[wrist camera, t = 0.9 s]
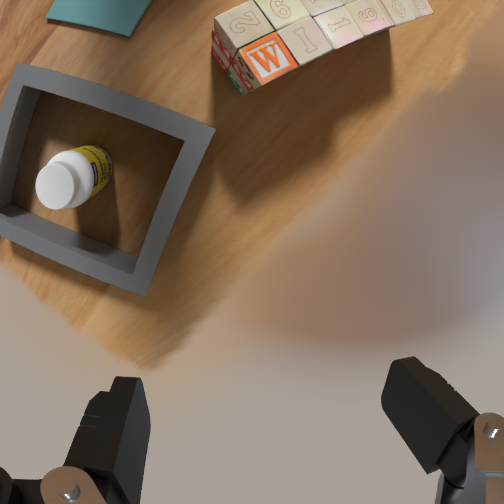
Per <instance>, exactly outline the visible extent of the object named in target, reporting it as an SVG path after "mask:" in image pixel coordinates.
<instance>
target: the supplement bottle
mask: <svg viewBox="0 0 504 504" xmlns="http://www.w3.org/2000/svg"><path fill="white" fill-rule="evenodd" d="M111 174H112V163H111V159H110V157H109V155H108V154H107V152H106V151H105V150H103V149H102V148H100V147H98V146H95V145H87V146H82V147H78V148H74V149H71V150H67V151H63V152H61V153H58V154H57V155H55V156H54V157H53V158H52V159H51V160H50V161H49V162H48V164H47V165H46V166H45V167H44V168H43V169H42V170H41V171H40V172H39V174H38V176H37V179H36V193H37V196H38V198H39V200H40V202H41V203H42V204H43V205H44V206H46V207H47V208H49V209H53V210H59V209H62V208H65V209H70V208H75V207H77V206H79V205H81V204H82V203H84V202H85V201H86V200H88V199H89V198H91V197H92V196H93V195H95V194H96V193H97V192H99V191H100V190H101V189H103V188H104V187H105V186H106V185H107V183H108V182H109V180H110V178H111Z"/></svg>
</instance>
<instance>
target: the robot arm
mask: <svg viewBox="0 0 504 504" xmlns="http://www.w3.org/2000/svg"><path fill="white" fill-rule="evenodd" d="M381 403H382V408H383V410H384V412H385V414H386V415H387V416H388V418H389V419H390V421H391V422H392V424H393V425H394V427H395V428H396V430H397V431H398V432H399V434H400V435H401V437H402V438H403V439H404V441H405V443H406V444H407V446H408V447H409V448H410V450H411V451H412V453H413V454H414V456H415V457H416V459H417V460H418V462H419V463H420V465H421V466H422V468H423V469H424V470H425V472H426V473H427V474H429V473H432V472H434V471H436V470H438V469H441V471H442V474H441V475H440V477H439V481H438V487H437V493H436V499H435V504H504V418H503V417H502V416H500V415H498V414H495V413H483V414H481V415H480V414H479V413H478V412H477V411H476V410H475V409H474V408H473V407H472V406H471V405H470V404H469V403H468V402H467V401H466V400H465V399H464V398H463V397H462V396H461V395H460V394H459V393H458V392H457V391H454V388H453V387H452V386H451V385H450V384H447V381H446V380H445V379H444V378H442V376H441V375H440V374H439V373H437V372H435V371H433V370H431V369H429V368H427V367H425V366H424V365H423V364H422V363H421V362H420V361H419V360H418V359H417V358H416V357H413V356H412V357H407V358H403V359H398V360H394V361H393V362H392V364H391V366H390V369H389V373H388V376H387V380H386V383H385V386H384V389H383V392H382V396H381ZM150 425H151V424H150V414H149V410H148V405H147V401H146V397H145V392H144V388H143V383H142V380H141V378H136V377H119V376H117V377H115V379H114V381H113V384H112V386H111V389H110V391H109V392H105V391H100V392H99V393H98V394H97V395H95V396H94V397H93V398H92V399H91V400H90V401H89V403H88V406H87V408H86V410H85V413H84V416H83V417H82V420H81V422H80V426H79V427H78V429H77V432H76V434H75V437H74V439H73V442H72V444H71V447H70V449H69V452H68V455H67V457H66V460H65V463H64V465H63V466H62V467H58V468H55V469H53V470H51V471H49V472H48V473H47V474H46V475H45V476H44V478H43V479H40V480H27V479H26V480H24V479H12V478H11V477H10V475H9V474H8V473H7V472H6V471H5V470H4V469H3V468H1V467H0V504H140V498H141V490H142V482H143V475H144V467H145V461H146V454H147V447H148V442H149V436H150Z"/></svg>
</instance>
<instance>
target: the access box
mask: <svg viewBox="0 0 504 504" xmlns="http://www.w3.org/2000/svg"><path fill="white" fill-rule="evenodd" d="M41 90H43V91H46V92H50V93H53V94H56V95H60V96H63V97H66V98H69V99H72V100H76V101H79V102H82V103H85V104H88V105H91V106H94V107H97V108H99V109H102V110H105V111H108V112H111V113H114V114H117V115H119V116H122V117H125V118H128V119H130V120H133V121H136V122H138V123H141V124H144V125H146V126H149V127H151V128H154V129H157V130H159V131H162V132H164V133H167V134H169V135H172V136H174V137H177V138H179V139H182V140H184V141H185V142H184V144H183V147H182V149H181V151H180V153H179V156H178V158H177V160H176V162H175V165H174V167H173V169H172V172H171V174H170V176H169V179H168V181H167V184H166V186H165V188H164V191H163V193H162V196H161V198H160V201H159V203H158V206H157V208H156V211H155V214H154V216H153V219H152V222H151V224H150V227H149V230H148V232H147V235H146V238H145V241H144V243H143V246H142V249H141V252H140V255H139V257H137V256H134V255H131V254H129V253H126V252H124V251H121V250H119V249H116V248H114V247H111V246H109V245H106V244H104V243H101V242H99V241H96V240H94V239H91V238H89V237H86V236H84V235H82V234H79V233H77V232H74V231H72V230H70V229H67V228H65V227H63V226H60V225H58V224H55V223H53V222H51V221H48V220H46V219H44V218H42V217H39V216H37V215H35V214H32V213H30V212H28V211H26V210H23V209H21V208H19V207H17V206H15V205H12V204H11V202H12V196H13V191H14V186H15V181H16V176H17V171H18V167H19V162H20V158H21V154H22V150H23V146H24V143H25V139H26V136H27V132H28V129H29V125H30V122H31V119H32V116H33V113H34V110H35V107H36V104H37V101H38V99H39V96H40V93H41ZM215 130H216V129H215V128H214V127H211V126H209V125H207V124H204V123H202V122H200V121H197V120H195V119H192V118H190V117H188V116H185V115H183V114H180V113H178V112H175V111H173V110H170V109H168V108H165V107H162V106H160V105H157V104H155V103H152V102H149V101H146V100H144V99H141V98H138V97H135V96H133V95H130V94H127V93H124V92H121V91H118V90H115V89H112V88H109V87H106V86H103V85H100V84H97V83H94V82H90V81H87V80H84V79H81V78H77V77H74V76H70V75H67V74H63V73H60V72H56V71H52V70H48V69H44V68H40V67H36V66H31V65H27V64H22V63H17V64H16V67H15V69H14V72H13V75H12V77H11V80H10V83H9V85H8V88H7V91H6V94H5V97H4V100H3V103H2V107H1V110H0V236H2V237H4V238H6V239H8V240H10V241H13V242H15V243H17V244H19V245H21V246H23V247H25V248H27V249H29V250H32V251H34V252H36V253H38V254H40V255H42V256H45V257H47V258H49V259H51V260H54V261H56V262H58V263H60V264H63V265H65V266H67V267H70V268H72V269H74V270H77V271H79V272H82V273H84V274H86V275H89V276H91V277H94V278H96V279H99V280H101V281H104V282H106V283H109V284H111V285H114V286H117V287H119V288H122V289H124V290H127V291H130V292H132V293H135V294H138V295H140V296H143V297H146V294H147V292H148V289H149V286H150V283H151V281H152V278H153V275H154V272H155V270H156V267H157V264H158V262H159V259H160V257H161V254H162V251H163V249H164V246H165V244H166V241H167V239H168V236H169V234H170V231H171V229H172V226H173V224H174V221H175V219H176V217H177V214H178V212H179V209H180V207H181V205H182V202H183V200H184V198H185V195H186V193H187V191H188V188H189V186H190V184H191V182H192V179H193V177H194V175H195V173H196V171H197V168H198V166H199V164H200V162H201V160H202V157H203V155H204V153H205V151H206V149H207V147H208V145H209V143H210V141H211V138H212V136H213V134H214V132H215Z"/></svg>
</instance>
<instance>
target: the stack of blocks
mask: <svg viewBox="0 0 504 504" xmlns="http://www.w3.org/2000/svg"><path fill="white" fill-rule="evenodd" d="M432 13H433V11H432V9H431V7H430V6H429V4H428V2H427V0H250V1H247V2H245V3H243V4H240V5H238V6H236V7H234V8H232V9H229V10H227V11H225V12H223V13H221V14H219V15H217V16H216V17H215V19H214V29H213V30H212V48H211V52H212V54H213V55H214V56H215V58H216V59H217V61H218V62H219V64H220V65H221V67H222V68H223V69H224V71H225V72H226V73H227V75H228V76H229V78H230V79H231V81H232V82H233V84H234V85H235V87H236V88H237V90H238V91H239V93H240V95H241V96H243V95H246V94H248V93H249V92H251V91H253V90H255V89H257V88H258V87H260V86H262V85H264V84H266V83H268V82H270V81H272V80H275V79H276V78H278V77H280V76H282V75H284V74H286V73H288V72H290V71H292V70H294V69H296V68H298V67H300V66H302V65H304V64H307V63H309V62H311V61H313V60H315V59H317V58H319V57H321V56H323V55H325V54H327V53H330V52H332V51H334V50H336V49H339V48H341V47H343V46H345V45H347V44H349V43H351V42H356V41H359V40H361V39H364V38H366V37H369V36H372V35H374V34H377V33H380V32H382V31H384V30H387V29H390V28H392V27H395V26H398V25H401V24H404V23H407V22H410V21H413V20H416V19H417V18H419V17H422V16H425V15H429V14H432Z"/></svg>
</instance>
